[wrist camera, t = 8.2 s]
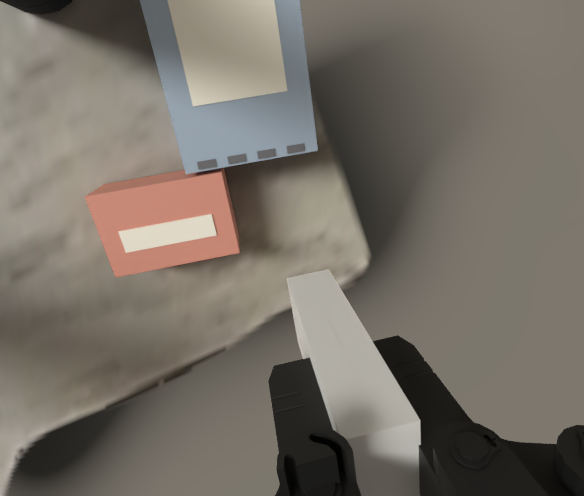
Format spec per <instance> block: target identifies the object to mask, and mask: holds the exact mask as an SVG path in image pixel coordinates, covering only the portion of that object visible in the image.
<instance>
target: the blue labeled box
mask: <svg viewBox="0 0 584 496" xmlns="http://www.w3.org/2000/svg"><path fill="white" fill-rule="evenodd" d="M140 3H141V7H142V11H143V15H144V19H145V22H146V26H147V30H148V34H149V37H150V41H151V45H152V49H153V52H154V56H155V60H156V64H157V68H158V71H159V75H160V79H161V83H162V86H163V90H164V94H165V98H166V101H167V105H168V109H169V113H170V116H171V120H172V124H173V128H174V132H175V135H176V139H177V143H178V147H179V150H180V154H181V158H182V162H183V165H184V169H185V173H186V174H190V173H196V172H201V171H207V170H212V169H218V168H224V167H229V166H235V165H240V164H246V163H252V162H257V161H263V160H268V159H274V158H280V157H285V156H291V155H296V154H302V153H308V152H313V151H318V147H317V139H316V130H315V122H314V114H313V105H312V97H311V89H310V81H309V72H308V64H307V56H306V47H305V40H304V31H303V23H302V15H301V6H300V0H140Z"/></svg>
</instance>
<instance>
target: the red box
mask: <svg viewBox="0 0 584 496" xmlns="http://www.w3.org/2000/svg"><path fill="white" fill-rule="evenodd" d="M85 199H86V202H87V204H88V207H89V209H90V212H91V215H92V217H93V220H94V222H95V225H96V228H97V230H98V233H99V235H100V238H101V241H102V243H103V246H104V249H105V251H106V254H107V256H108V259H109V262H110V264H111V267H112V269H113V272H114V275H115V277H120V276H125V275H130V274H135V273H141V272H146V271H151V270H156V269H161V268H166V267H171V266H176V265H181V264H186V263H191V262H196V261H201V260H206V259H211V258H216V257H222V256H227V255H232V254H237V253H240V248H239V233H238V228H237V224H236V219H235V215H234V210H233V206H232V201H231V197H230V192H229V188H228V183H227V179H226V174H225V170H224V168H218V169H212V170H207V171H201V172H196V173H190V174H186V173H185V170H182V171H176V172H170V173H165V174H159V175H153V176H148V177H142V178H136V179H131V180H125V181H120V182H114V183H108V184H104V185H102V186H101V187H99V188H98V189H96V190H95V191H93V192H91V193H90V194H88V195H87V196H85Z"/></svg>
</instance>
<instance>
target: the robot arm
mask: <svg viewBox="0 0 584 496" xmlns="http://www.w3.org/2000/svg"><path fill="white" fill-rule="evenodd" d="M287 283H288V289H289V294H290V300H291V306H292V311H293V317H294V323H295V328H296V334H297V339H298V344H299V347H300V350H301V354H302V358H303V359H301V360H297V361H293V362H288V363H284V364H280V365H276V366H274V367H273V370H272V373H271V376H270V379H269V388H270V394H271V401H272V408H273V414H274V421H275V428H276V435H277V442H278V448H279V454H278V458H277V474H278V478H279V482H280V486H279V489H278V491H277V493H276V495H275V496H584V426H582V425H576V426H573V427H570V428H566V429H564V430H563V432H562V433H561V434H560V435H559V436H558V440H557V444H541V443H520V442H514V441H507V440H504V439H501V438H500V437H499V436H498V435H497V434H495V433H494V432H493V431H492V430H490V429H488V428H486V427H484V426H482V425H480V424H477V423H474V422H473V421H472V420H471V419H470V418H469V417H468V416H467V414H466V413H465V412H464V411H463V409H462V408H461V407H460V405H459V404H458V403H457V401H456V400H455V399H454V398H453V396H452V395H451V394H450V392H449V391H448V390H447V388H446V387H445V386H444V384H443V383H442V382H441V380H440V379H439V378H438V377H437V375H436V374H435V373H433V371H432V369H431V367H430V366H429V365H428V364H427V362H425V361H424V358H423V357H422V356H421V354H420V353H419V352H418V351H417V349H416V348H415V346H414V345H412V344H411V343H409V342H407V341H406V340H404V339H403V338H401V337H399V336H394V337H390V338H385V339H381V340H377V341H372V340H371V338H370V336H369V335H368V333H367V332H366V330H365V328H364V327H363V325H362V323H361V322H360V320H359V318H358V317H357V315H356V313H355V312H354V310H353V309H352V307H351V305H350V303H349V302H348V300H347V299H346V297H345V296H344V294H343V292H342V290H341V289H340V287H339V285H338V284H337V282H336V280H335V279H334V277H333V275H332V274H331V272H330V271H329V269H327V270H323V271H318V272H313V273H309V274H304V275H299V276H295V277H290V278H287Z"/></svg>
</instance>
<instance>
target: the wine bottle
mask: <svg viewBox="0 0 584 496" xmlns="http://www.w3.org/2000/svg"><path fill="white" fill-rule="evenodd" d="M0 1H1V2H4V3H6V4H8V5H11V6H13V7H15V8H18V9H20V10H22V11H25V12H31V13H38V14H46V13H50V12H55V11H59V10H60V9H62V8H63V7H65V6H66V5H68V4H69V3H71V2H72V0H0Z"/></svg>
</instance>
